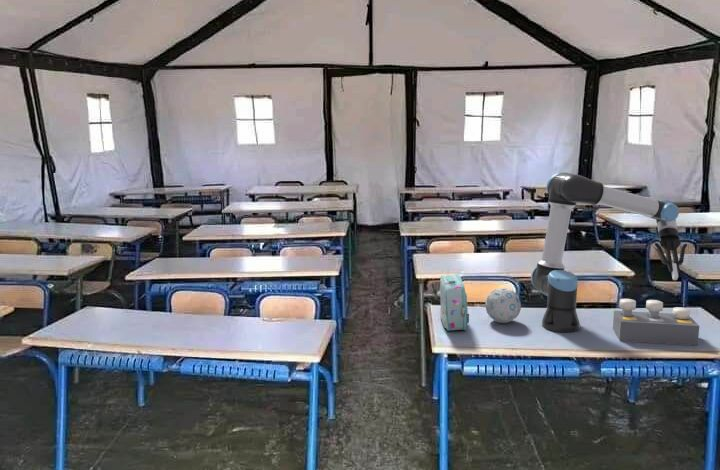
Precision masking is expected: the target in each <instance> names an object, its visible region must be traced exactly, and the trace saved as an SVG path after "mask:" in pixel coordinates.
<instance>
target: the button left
mask: <svg viewBox="0 0 720 470" xmlns="http://www.w3.org/2000/svg"><path fill="white" fill-rule="evenodd" d="M636 307H637V301H636V300H635V299H631V298H620V299H619V305H618V308H619V309H621V311H622V316H628V317H632V312H633V311H634V310H636Z"/></svg>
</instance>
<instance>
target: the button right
mask: <svg viewBox="0 0 720 470" xmlns="http://www.w3.org/2000/svg"><path fill="white" fill-rule="evenodd" d="M671 314H672V316H673V317H674V318H676V319H684V320H686V319H689V318H690V317H691V315H690V314H691V310H690V309H688V308H686V307H680V306H679V307H678V306H676V307H675V306H674V307H673V308H672V313H671Z"/></svg>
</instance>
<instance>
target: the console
mask: <svg viewBox="0 0 720 470" xmlns="http://www.w3.org/2000/svg"><path fill="white" fill-rule="evenodd" d="M672 314H673V313H669V312H668V313H666V312H659V318H649V311H648V312H647V311H632V317H628V316H622V310H613V320H612V321H613V322H612V330H613V332H614V333H615V335H616V338H617V339H618V340H619V341H620V342H632V343H633V342H634V343H648V344H649V343H650V344H664V345H666V344H667V345H679V346H682V345H683V346H698V345H699V335H700V325H699V324H698V322H696V321H695V320H694V319H693V317H692V316H690V318H689V319H686V320H684V319H676V318H674V317H673V316H672Z"/></svg>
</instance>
